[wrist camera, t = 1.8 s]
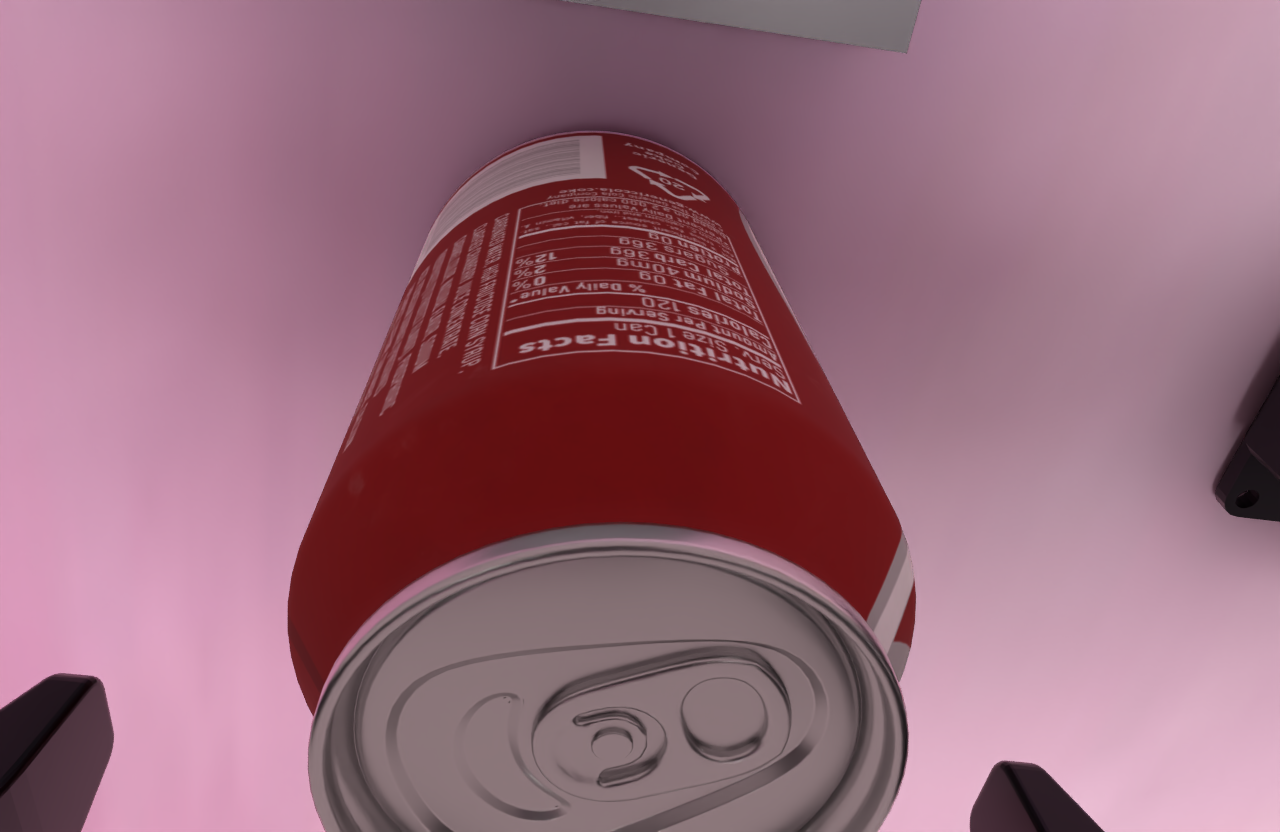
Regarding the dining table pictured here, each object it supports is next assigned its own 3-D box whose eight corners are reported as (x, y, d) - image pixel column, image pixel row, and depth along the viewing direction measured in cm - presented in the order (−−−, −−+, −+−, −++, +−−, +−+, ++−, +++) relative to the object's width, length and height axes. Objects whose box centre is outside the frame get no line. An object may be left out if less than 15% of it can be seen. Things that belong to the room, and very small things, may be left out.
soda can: (367, 178, 18) (75, 599, 7) (718, 76, 17) (937, 375, 7) (488, 469, 21) (405, 1047, 11) (786, 391, 21) (1004, 916, 10)
